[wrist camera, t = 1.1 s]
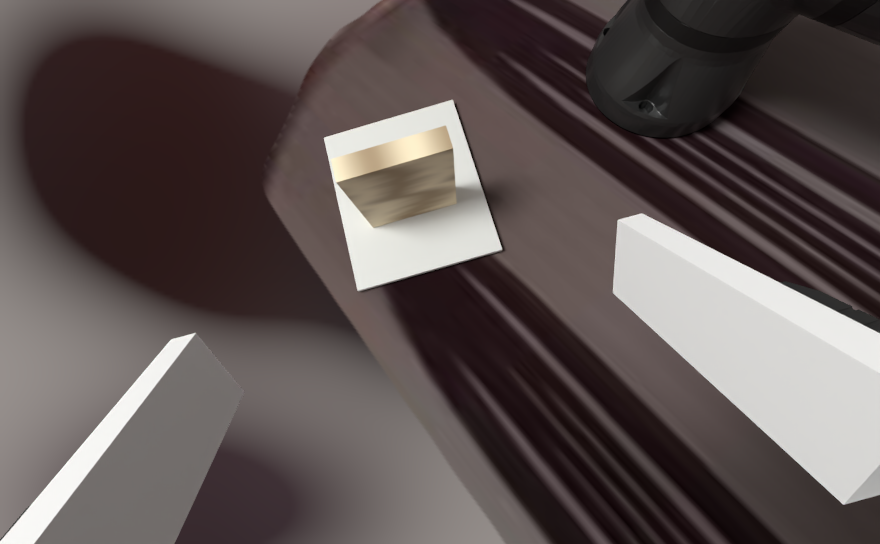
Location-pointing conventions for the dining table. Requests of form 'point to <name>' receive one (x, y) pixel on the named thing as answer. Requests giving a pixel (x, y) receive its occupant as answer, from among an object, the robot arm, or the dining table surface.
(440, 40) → the dining table surface
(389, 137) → the rubber mat
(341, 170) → the birch slab
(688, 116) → the robot arm
